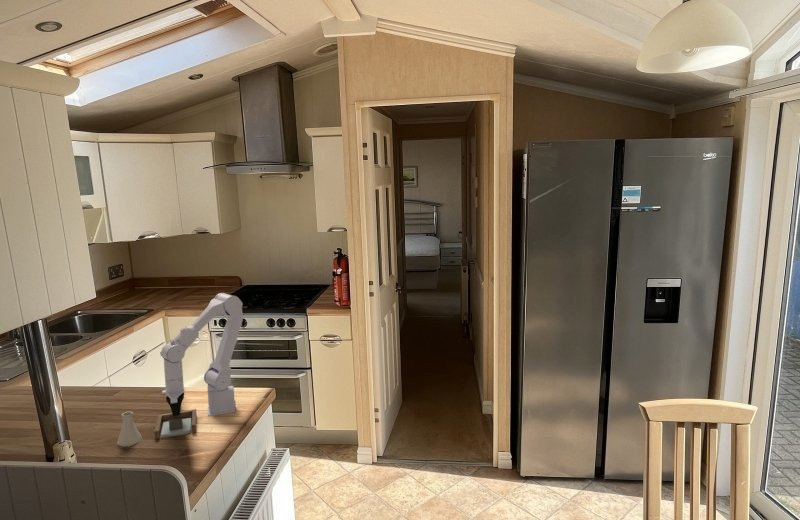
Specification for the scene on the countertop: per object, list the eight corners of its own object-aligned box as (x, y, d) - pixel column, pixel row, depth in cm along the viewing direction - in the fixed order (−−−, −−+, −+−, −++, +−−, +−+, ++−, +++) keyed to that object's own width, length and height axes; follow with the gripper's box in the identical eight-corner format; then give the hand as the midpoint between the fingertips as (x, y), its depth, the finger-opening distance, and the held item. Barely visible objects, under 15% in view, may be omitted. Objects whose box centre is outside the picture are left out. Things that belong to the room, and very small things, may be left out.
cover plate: (191, 420, 176) (190, 409, 176) (190, 432, 167) (189, 421, 167) (163, 424, 173) (162, 413, 173) (161, 437, 164) (160, 426, 163)
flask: (131, 449, 158) (128, 419, 156) (111, 446, 159) (109, 417, 158) (147, 438, 165) (144, 409, 163) (128, 436, 166) (125, 407, 165)
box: (196, 417, 180) (196, 409, 179) (196, 433, 167) (195, 424, 167) (159, 423, 175) (158, 414, 175) (155, 440, 163) (154, 431, 163)
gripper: (163, 372, 177) (165, 408, 179) (159, 386, 163) (162, 425, 165) (184, 369, 179) (186, 405, 181) (182, 383, 166) (185, 422, 168)
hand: (176, 414), depth 173 cm, fingers closed
